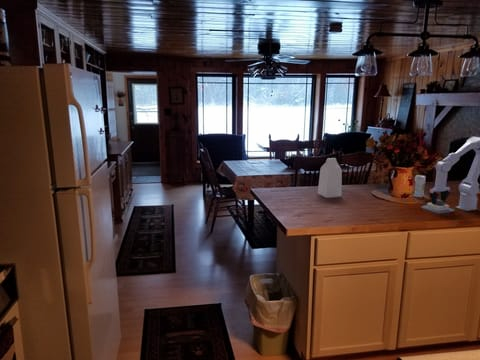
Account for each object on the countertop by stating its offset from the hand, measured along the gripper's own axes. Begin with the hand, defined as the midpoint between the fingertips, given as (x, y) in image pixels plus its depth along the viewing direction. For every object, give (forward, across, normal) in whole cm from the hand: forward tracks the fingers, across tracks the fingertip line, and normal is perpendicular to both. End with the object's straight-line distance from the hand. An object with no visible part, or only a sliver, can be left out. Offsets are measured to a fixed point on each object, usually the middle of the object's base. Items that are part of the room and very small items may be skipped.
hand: (438, 203), depth 223 cm
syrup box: (+4, -14, -27) cm, 31 cm away
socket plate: (+4, 0, 0) cm, 4 cm away
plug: (+3, 0, 0) cm, 3 cm away
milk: (+4, +40, -54) cm, 67 cm away
